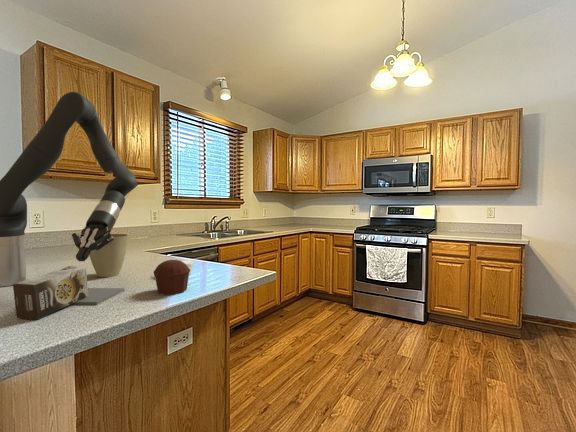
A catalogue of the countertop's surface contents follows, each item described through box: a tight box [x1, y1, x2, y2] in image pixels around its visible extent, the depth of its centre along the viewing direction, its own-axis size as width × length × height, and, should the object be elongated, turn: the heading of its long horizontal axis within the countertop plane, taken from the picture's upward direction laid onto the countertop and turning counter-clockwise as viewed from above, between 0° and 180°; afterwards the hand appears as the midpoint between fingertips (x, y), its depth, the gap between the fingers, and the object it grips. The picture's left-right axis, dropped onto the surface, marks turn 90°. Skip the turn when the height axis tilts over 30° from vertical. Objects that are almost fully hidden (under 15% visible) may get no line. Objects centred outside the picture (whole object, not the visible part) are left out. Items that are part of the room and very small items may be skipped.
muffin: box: [153, 259, 190, 296], centre depth 100 cm, size 12×11×10 cm
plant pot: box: [88, 233, 130, 278], centre depth 122 cm, size 15×15×16 cm
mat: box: [69, 287, 125, 306], centre depth 94 cm, size 16×14×1 cm
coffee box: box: [12, 265, 89, 321], centre depth 83 cm, size 9×6×16 cm
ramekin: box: [178, 259, 194, 276], centre depth 123 cm, size 11×11×5 cm
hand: (80, 259), depth 91 cm, fingers closed
